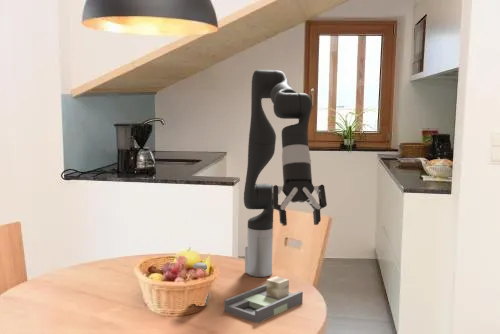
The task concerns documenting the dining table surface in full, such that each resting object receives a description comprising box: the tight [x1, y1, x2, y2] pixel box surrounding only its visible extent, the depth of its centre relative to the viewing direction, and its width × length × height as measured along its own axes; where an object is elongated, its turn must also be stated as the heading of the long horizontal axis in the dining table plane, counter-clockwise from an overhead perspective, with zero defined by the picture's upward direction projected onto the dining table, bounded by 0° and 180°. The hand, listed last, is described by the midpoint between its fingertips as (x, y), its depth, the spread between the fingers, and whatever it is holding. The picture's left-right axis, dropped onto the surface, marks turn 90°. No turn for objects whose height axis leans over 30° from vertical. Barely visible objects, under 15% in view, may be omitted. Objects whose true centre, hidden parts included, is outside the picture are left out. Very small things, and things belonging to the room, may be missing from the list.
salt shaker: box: [192, 261, 210, 306], centre depth 168 cm, size 6×6×13 cm
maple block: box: [266, 275, 290, 299], centre depth 171 cm, size 5×5×5 cm
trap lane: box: [223, 283, 304, 324], centre depth 167 cm, size 13×22×4 cm, turn 139°
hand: (300, 225), depth 141 cm, fingers open, 8 cm apart
